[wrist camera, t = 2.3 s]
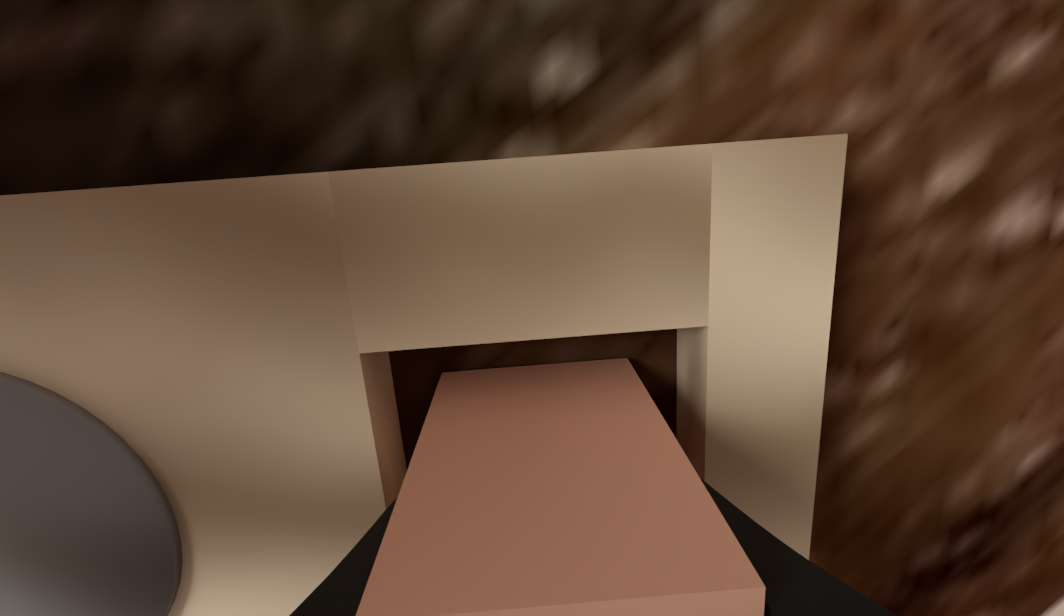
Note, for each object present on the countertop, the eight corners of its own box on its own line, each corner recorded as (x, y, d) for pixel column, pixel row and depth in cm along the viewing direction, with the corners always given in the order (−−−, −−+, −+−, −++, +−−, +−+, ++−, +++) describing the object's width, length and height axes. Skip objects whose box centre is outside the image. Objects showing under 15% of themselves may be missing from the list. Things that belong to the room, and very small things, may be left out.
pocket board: (758, 637, 15) (801, 719, 13) (-66, 709, 15) (-170, 806, 12) (790, 139, 11) (858, 132, 9) (-317, 220, 11) (-531, 233, 9)
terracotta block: (630, 515, 13) (747, 862, 7) (462, 530, 13) (408, 894, 7) (627, 357, 12) (766, 587, 6) (441, 372, 12) (353, 621, 5)
